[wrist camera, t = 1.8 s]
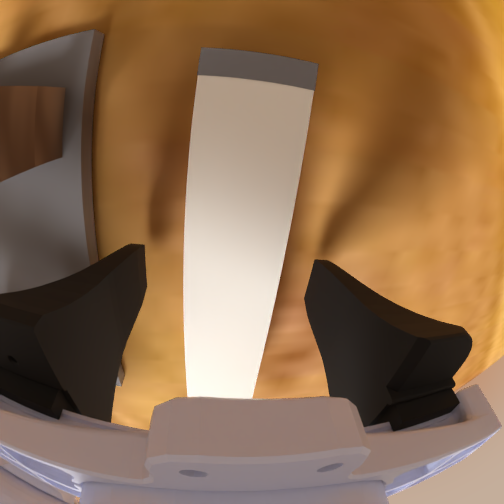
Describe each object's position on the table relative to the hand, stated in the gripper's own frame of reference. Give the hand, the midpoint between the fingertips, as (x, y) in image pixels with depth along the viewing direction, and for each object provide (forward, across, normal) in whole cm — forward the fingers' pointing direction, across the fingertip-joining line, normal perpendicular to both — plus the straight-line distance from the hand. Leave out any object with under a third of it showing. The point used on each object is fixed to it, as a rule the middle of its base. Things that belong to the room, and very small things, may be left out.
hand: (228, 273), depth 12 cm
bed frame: (+1, +11, 0) cm, 11 cm away
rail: (+1, 0, 0) cm, 1 cm away
